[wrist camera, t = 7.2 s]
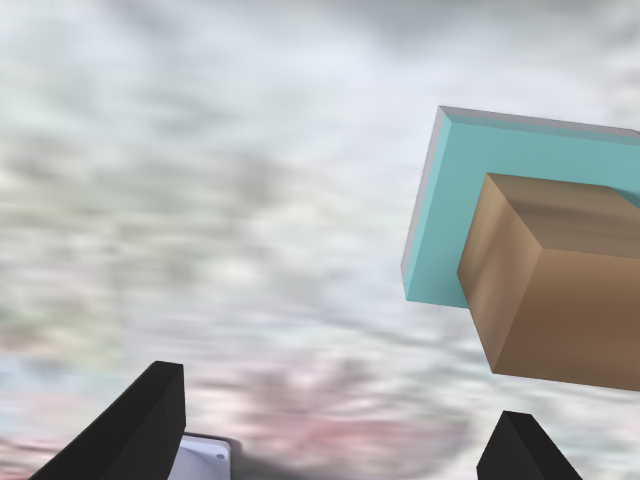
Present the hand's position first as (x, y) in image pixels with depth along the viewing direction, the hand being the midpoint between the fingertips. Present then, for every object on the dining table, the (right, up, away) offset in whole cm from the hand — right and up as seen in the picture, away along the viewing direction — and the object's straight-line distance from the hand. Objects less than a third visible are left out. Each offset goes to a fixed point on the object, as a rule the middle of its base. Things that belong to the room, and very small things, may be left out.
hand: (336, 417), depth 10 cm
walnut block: (+7, +4, +5) cm, 10 cm away
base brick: (+7, +5, +7) cm, 12 cm away
